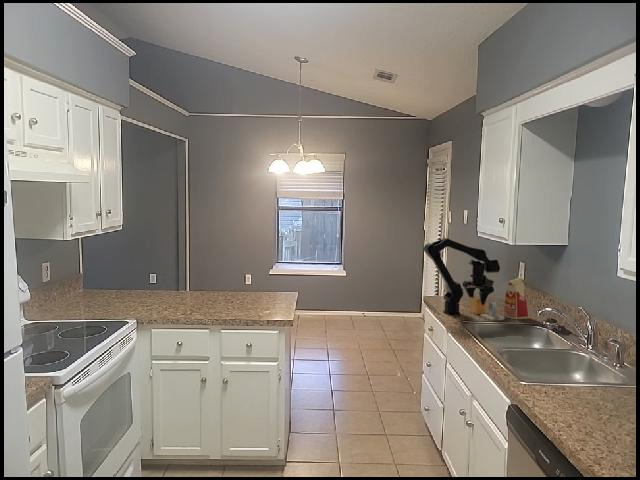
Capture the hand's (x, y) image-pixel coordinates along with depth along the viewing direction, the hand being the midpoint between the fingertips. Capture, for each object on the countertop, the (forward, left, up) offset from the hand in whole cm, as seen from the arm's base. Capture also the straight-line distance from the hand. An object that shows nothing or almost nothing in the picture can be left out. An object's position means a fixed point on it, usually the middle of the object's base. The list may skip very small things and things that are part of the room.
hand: (477, 302), depth 245 cm
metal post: (0, -12, -4) cm, 13 cm away
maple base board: (0, -12, -5) cm, 13 cm away
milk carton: (+12, -14, -5) cm, 19 cm away
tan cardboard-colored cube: (0, 0, -5) cm, 5 cm away
